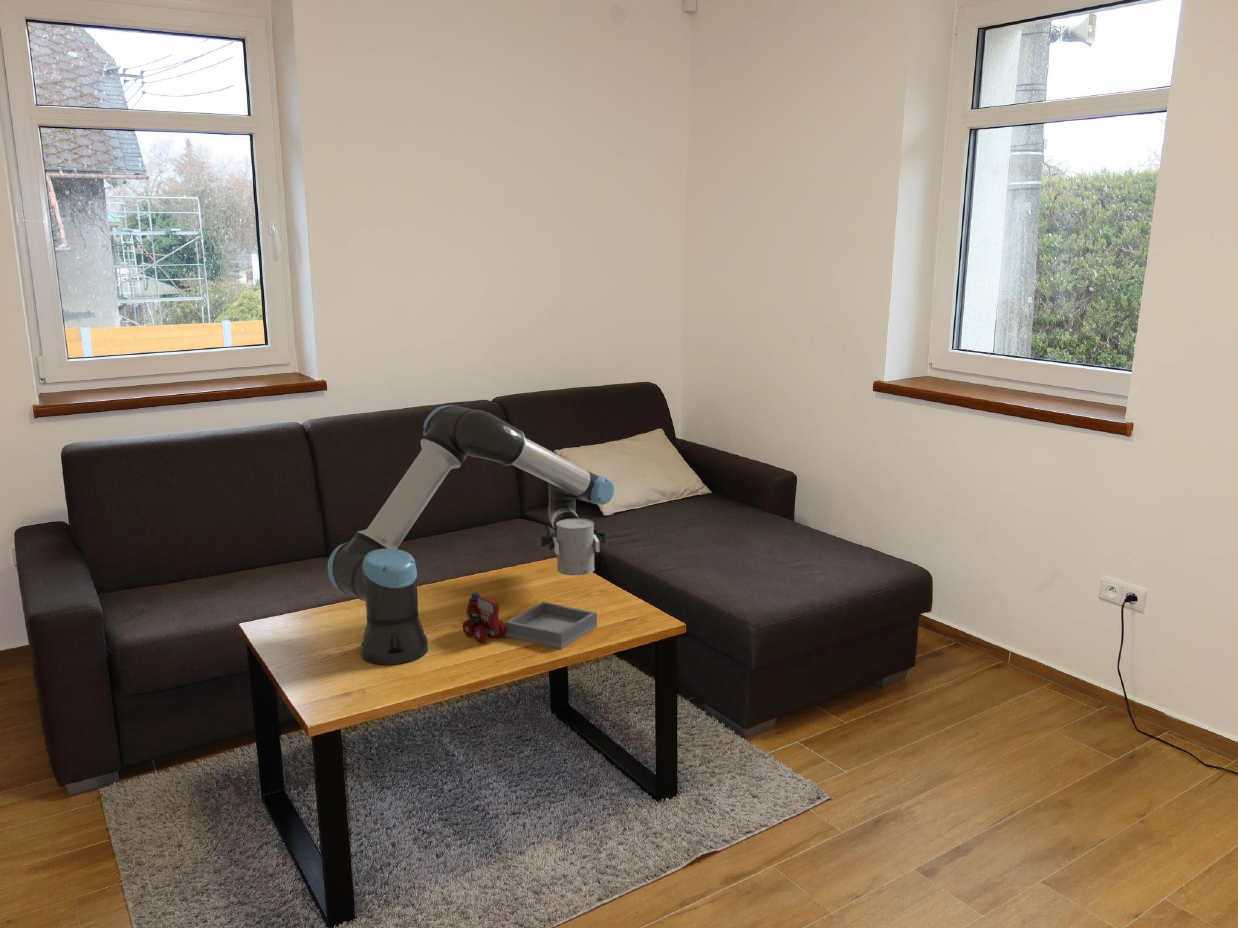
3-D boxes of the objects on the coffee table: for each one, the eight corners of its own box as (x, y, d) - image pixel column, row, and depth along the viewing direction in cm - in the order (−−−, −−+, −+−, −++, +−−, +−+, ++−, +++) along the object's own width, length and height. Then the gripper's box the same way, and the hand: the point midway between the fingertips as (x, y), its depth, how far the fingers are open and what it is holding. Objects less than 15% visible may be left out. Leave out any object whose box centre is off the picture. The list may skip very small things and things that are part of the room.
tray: (505, 636, 234) (505, 621, 233) (543, 615, 247) (542, 601, 247) (561, 649, 226) (561, 634, 225) (597, 626, 239) (596, 612, 239)
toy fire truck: (482, 625, 241) (480, 585, 239) (510, 639, 232) (509, 598, 230) (458, 632, 237) (456, 591, 235) (485, 647, 228) (484, 605, 226)
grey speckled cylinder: (593, 575, 245) (592, 528, 242) (555, 575, 245) (554, 528, 242) (595, 563, 254) (594, 518, 251) (558, 563, 254) (557, 518, 252)
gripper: (606, 535, 268) (621, 559, 246) (526, 540, 264) (533, 565, 242) (606, 509, 266) (621, 531, 245) (525, 513, 263) (533, 536, 241)
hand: (577, 548), depth 244 cm, fingers closed on grey speckled cylinder, 9 cm apart
